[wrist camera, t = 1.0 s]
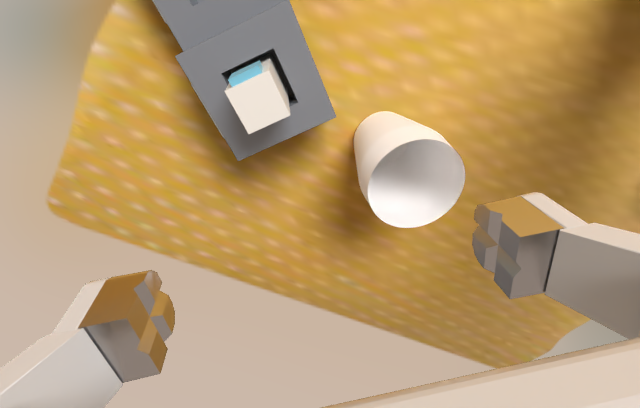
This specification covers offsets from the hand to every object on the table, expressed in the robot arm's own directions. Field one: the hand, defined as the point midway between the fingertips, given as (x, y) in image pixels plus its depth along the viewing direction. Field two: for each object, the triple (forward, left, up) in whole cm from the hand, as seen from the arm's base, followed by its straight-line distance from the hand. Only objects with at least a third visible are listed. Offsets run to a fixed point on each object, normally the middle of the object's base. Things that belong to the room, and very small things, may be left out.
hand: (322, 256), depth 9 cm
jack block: (+3, -5, -31) cm, 32 cm away
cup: (-6, +12, -31) cm, 34 cm away
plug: (+3, 0, -28) cm, 28 cm away
